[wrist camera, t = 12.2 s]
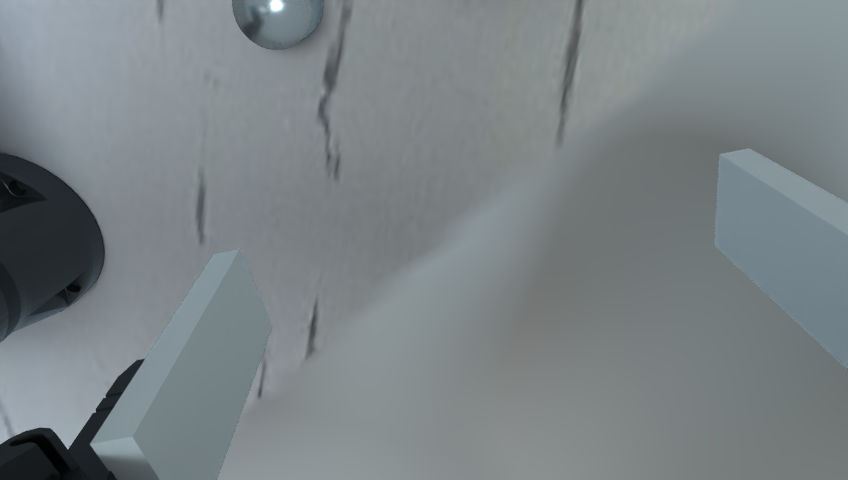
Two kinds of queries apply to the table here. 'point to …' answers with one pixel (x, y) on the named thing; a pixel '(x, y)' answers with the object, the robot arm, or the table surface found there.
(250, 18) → the grey tin
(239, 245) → the table surface
